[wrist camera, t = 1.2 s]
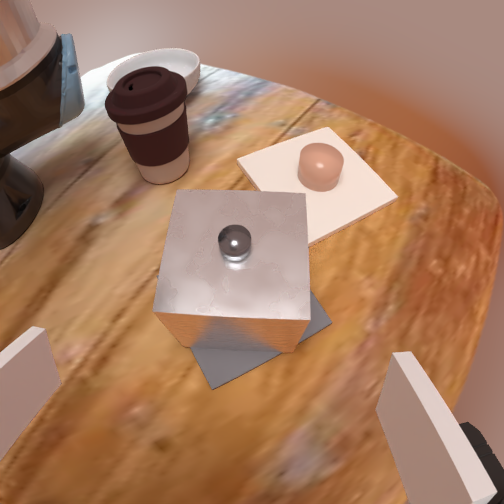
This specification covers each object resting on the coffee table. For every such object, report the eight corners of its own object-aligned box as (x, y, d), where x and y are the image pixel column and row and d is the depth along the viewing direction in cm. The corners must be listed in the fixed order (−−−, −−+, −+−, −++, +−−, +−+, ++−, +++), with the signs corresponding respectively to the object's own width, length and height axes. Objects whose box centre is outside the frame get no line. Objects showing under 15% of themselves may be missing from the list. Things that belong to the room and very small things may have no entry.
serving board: (236, 164, 44) (236, 158, 44) (326, 131, 48) (327, 126, 47) (301, 251, 38) (302, 246, 37) (395, 201, 41) (397, 196, 40)
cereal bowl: (147, 137, 48) (137, 102, 42) (101, 108, 54) (91, 79, 47) (222, 90, 54) (219, 58, 48) (168, 69, 60) (163, 41, 54)
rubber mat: (157, 277, 36) (156, 276, 35) (264, 226, 39) (264, 224, 39) (212, 389, 30) (212, 389, 29) (331, 323, 33) (332, 322, 33)
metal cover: (195, 252, 37) (174, 180, 26) (292, 255, 37) (307, 183, 26) (183, 346, 32) (147, 305, 21) (292, 352, 31) (313, 314, 21)
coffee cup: (209, 149, 46) (198, 61, 33) (181, 199, 41) (156, 106, 28) (152, 140, 48) (130, 59, 34) (120, 186, 43) (84, 102, 30)
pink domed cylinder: (289, 169, 43) (291, 150, 39) (322, 156, 44) (325, 138, 41) (313, 197, 40) (317, 179, 37) (346, 182, 41) (352, 164, 38)
